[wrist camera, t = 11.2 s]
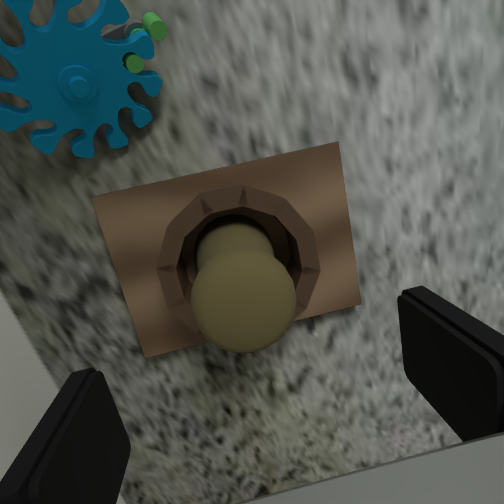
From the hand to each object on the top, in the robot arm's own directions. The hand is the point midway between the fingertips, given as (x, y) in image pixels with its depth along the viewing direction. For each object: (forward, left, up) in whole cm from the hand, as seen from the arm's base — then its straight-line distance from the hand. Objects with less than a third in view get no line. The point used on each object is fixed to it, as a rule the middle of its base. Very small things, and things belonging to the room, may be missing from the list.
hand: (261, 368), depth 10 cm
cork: (0, 0, -16) cm, 16 cm away
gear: (-13, -6, -17) cm, 22 cm away
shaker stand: (+1, 0, -17) cm, 17 cm away
